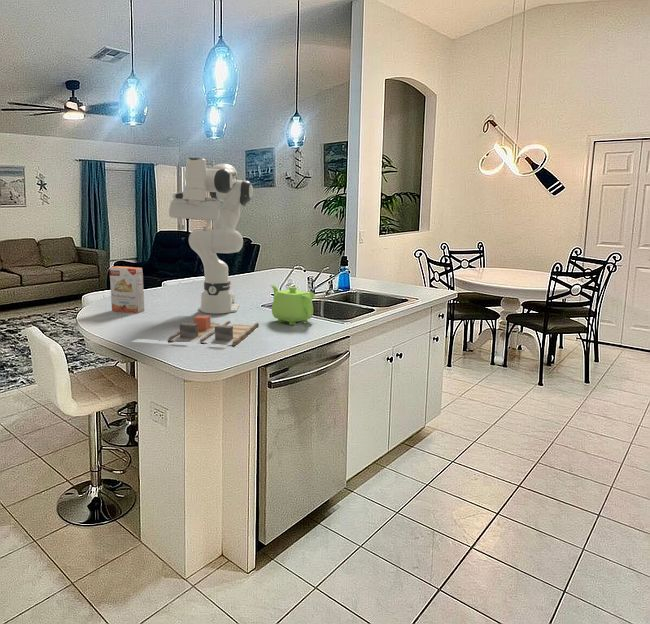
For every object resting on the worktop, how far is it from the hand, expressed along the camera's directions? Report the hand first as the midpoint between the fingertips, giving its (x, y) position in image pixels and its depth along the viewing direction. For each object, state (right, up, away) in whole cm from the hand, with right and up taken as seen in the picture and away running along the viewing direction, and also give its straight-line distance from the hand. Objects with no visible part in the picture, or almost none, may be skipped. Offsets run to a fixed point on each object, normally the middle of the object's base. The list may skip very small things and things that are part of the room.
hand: (193, 230), depth 228 cm
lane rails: (+11, -43, -9) cm, 45 cm away
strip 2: (+18, -43, -10) cm, 48 cm away
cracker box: (-38, -34, +30) cm, 59 cm away
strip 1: (+4, -43, -8) cm, 44 cm away
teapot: (+41, -38, +20) cm, 59 cm away
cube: (+5, -41, -5) cm, 42 cm away
